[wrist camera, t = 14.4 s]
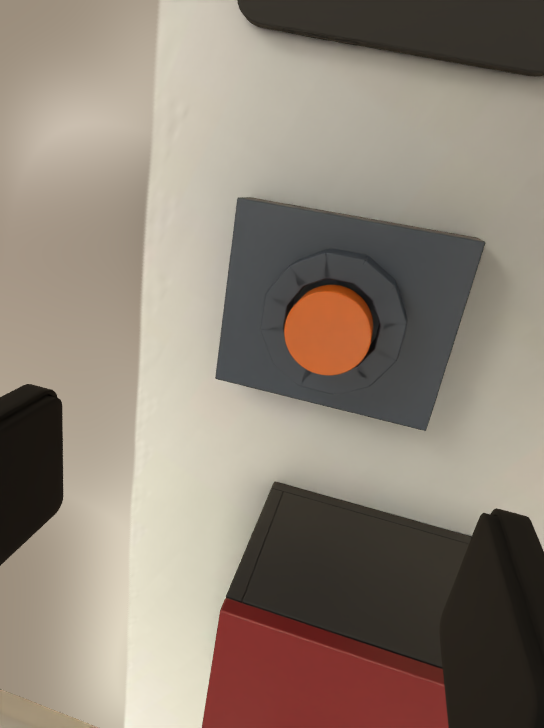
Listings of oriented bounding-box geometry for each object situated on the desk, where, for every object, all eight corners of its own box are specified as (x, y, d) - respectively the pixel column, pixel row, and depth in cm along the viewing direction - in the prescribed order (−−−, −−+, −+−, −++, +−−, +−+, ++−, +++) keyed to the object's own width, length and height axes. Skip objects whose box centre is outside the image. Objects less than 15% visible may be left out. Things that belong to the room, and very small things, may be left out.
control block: (478, 238, 24) (493, 245, 20) (423, 414, 27) (428, 447, 24) (249, 197, 26) (225, 197, 22) (227, 366, 29) (203, 390, 26)
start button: (382, 293, 22) (380, 301, 21) (362, 371, 24) (360, 384, 22) (299, 276, 23) (291, 283, 21) (285, 353, 24) (277, 365, 23)
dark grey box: (415, 716, 35) (423, 895, 26) (241, 655, 37) (192, 800, 28) (487, 540, 29) (529, 695, 20) (274, 481, 31) (225, 595, 22)
